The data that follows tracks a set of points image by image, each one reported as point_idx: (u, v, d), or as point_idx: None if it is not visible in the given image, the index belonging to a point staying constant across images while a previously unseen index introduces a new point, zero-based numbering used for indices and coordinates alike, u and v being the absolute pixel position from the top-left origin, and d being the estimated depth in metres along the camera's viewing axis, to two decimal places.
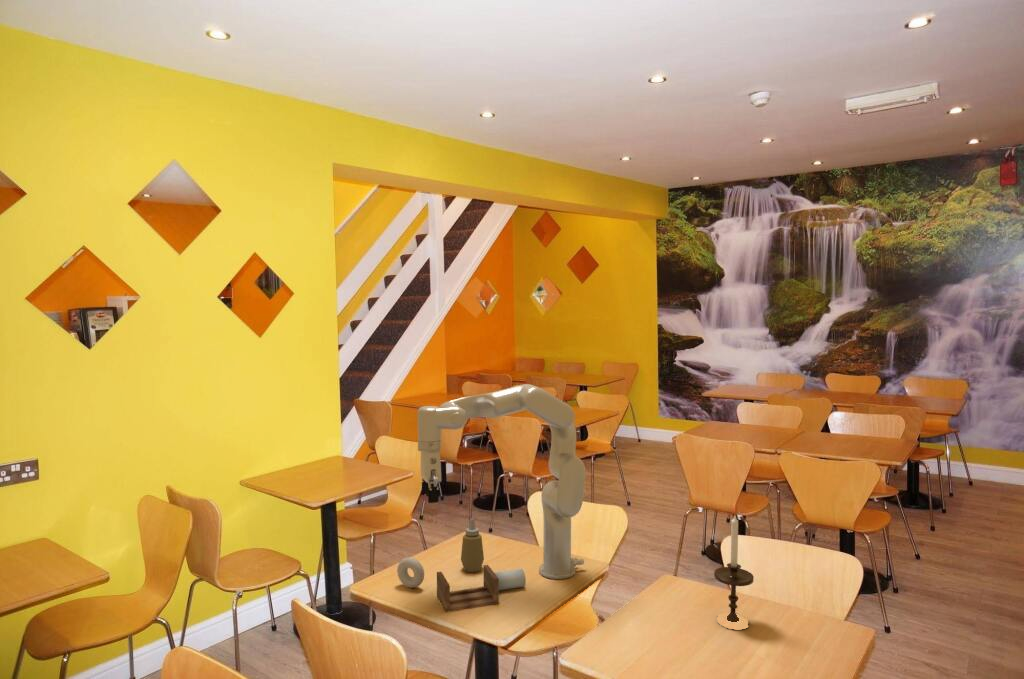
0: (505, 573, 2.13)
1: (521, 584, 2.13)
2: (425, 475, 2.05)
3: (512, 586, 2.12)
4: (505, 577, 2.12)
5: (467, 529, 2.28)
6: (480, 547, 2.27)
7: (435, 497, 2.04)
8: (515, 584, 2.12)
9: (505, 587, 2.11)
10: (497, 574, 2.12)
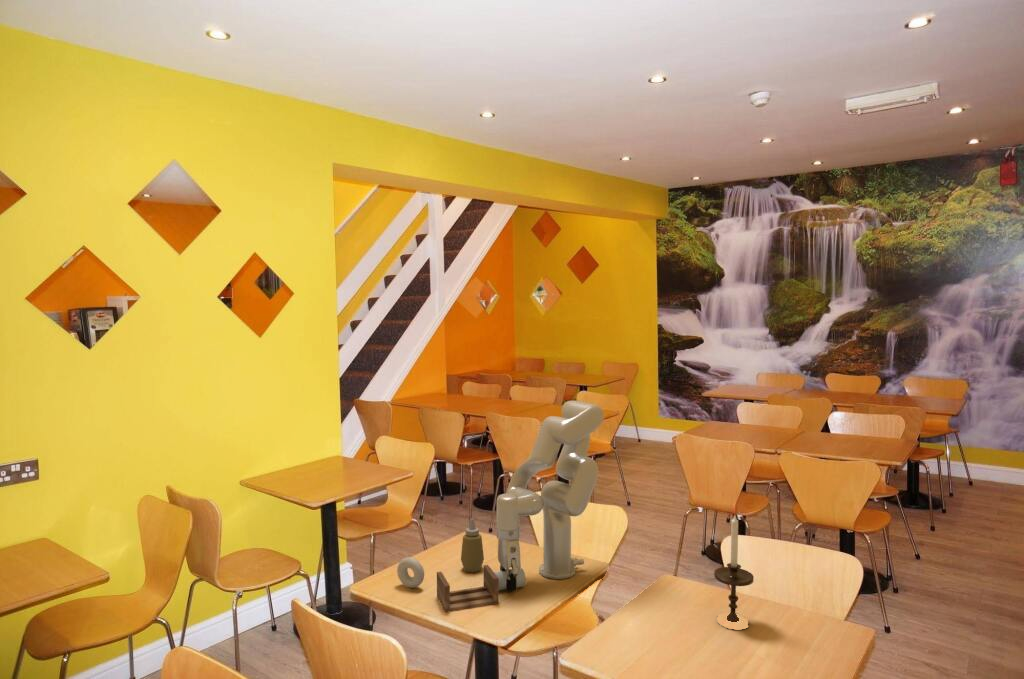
0: (505, 572, 2.13)
1: (522, 584, 2.13)
2: (505, 563, 2.10)
3: None
4: (505, 576, 2.12)
5: (467, 529, 2.28)
6: (480, 547, 2.27)
7: (513, 586, 2.11)
8: None
9: (505, 587, 2.11)
10: (497, 574, 2.12)
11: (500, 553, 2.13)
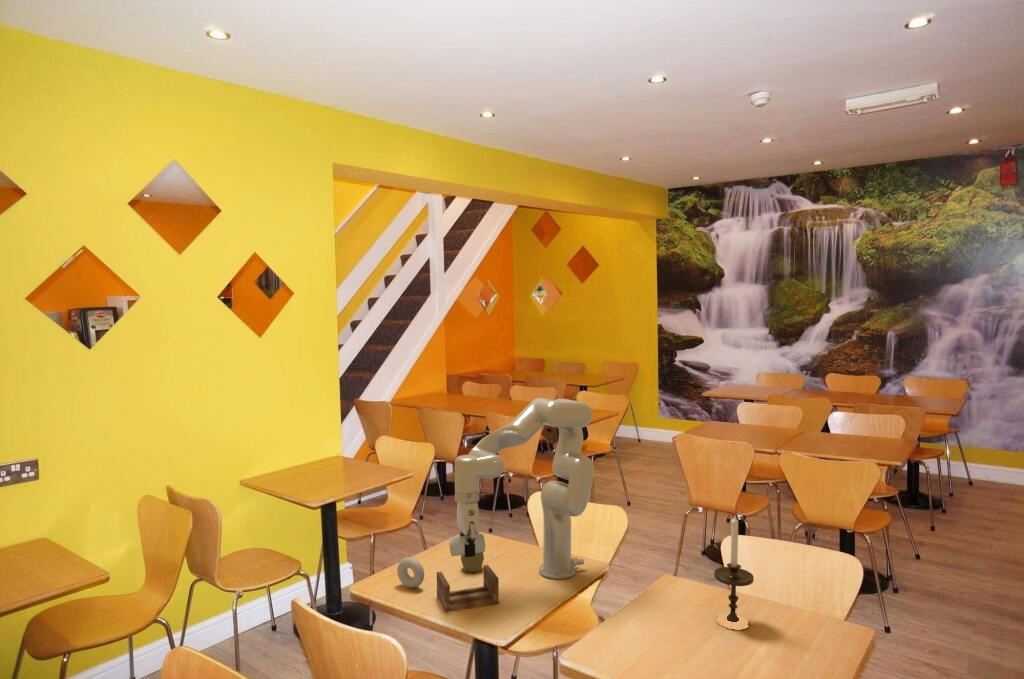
0: (464, 537, 2.03)
1: (481, 549, 2.03)
2: (463, 527, 2.00)
3: None
4: (463, 541, 2.02)
5: None
6: None
7: (472, 551, 2.01)
8: None
9: (463, 552, 2.02)
10: (455, 538, 2.02)
11: (459, 517, 2.04)
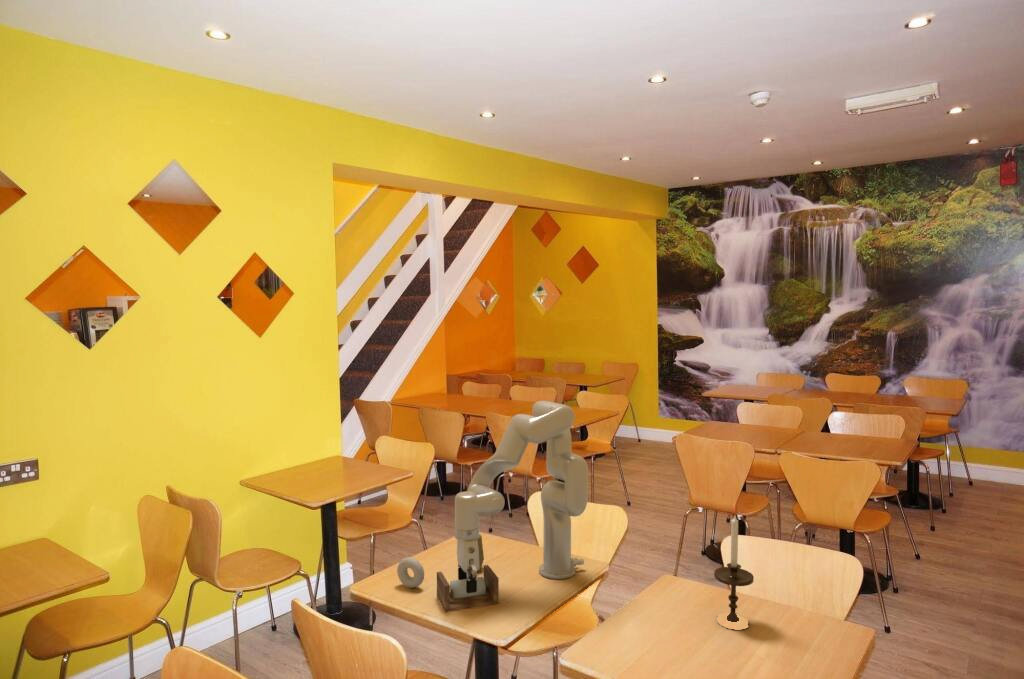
0: (464, 581, 2.04)
1: (481, 593, 2.04)
2: (463, 564, 2.01)
3: (471, 595, 2.03)
4: (463, 585, 2.03)
5: None
6: (480, 547, 2.27)
7: (473, 587, 2.00)
8: (474, 593, 2.03)
9: (464, 596, 2.03)
10: (456, 582, 2.03)
11: (459, 554, 2.04)
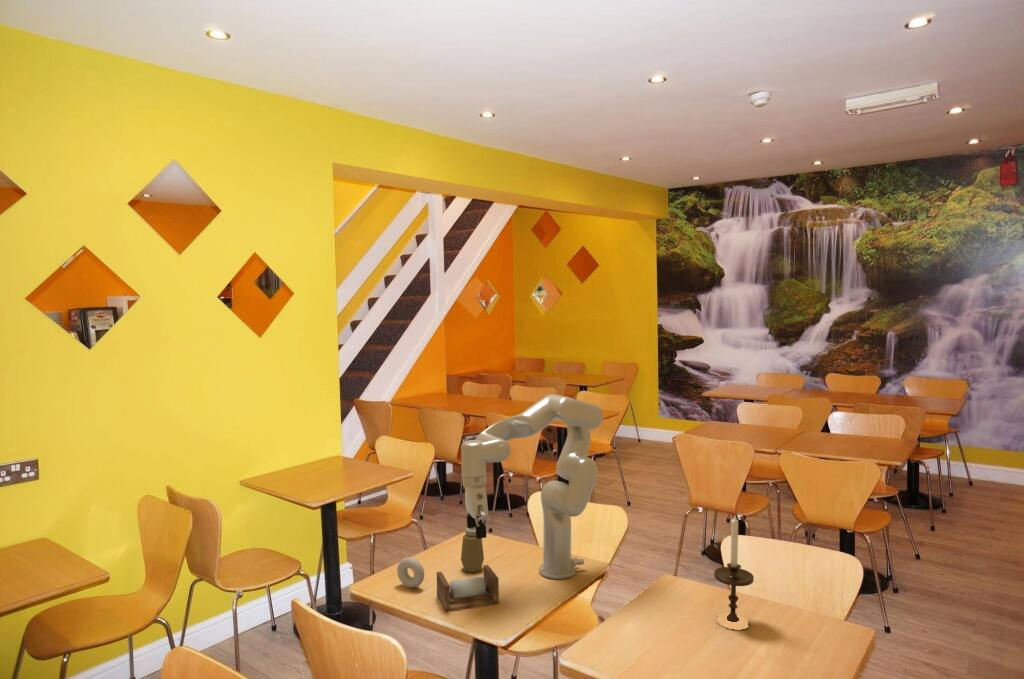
0: (464, 581, 2.04)
1: (481, 593, 2.04)
2: (472, 511, 2.03)
3: (471, 595, 2.03)
4: (463, 585, 2.03)
5: (467, 529, 2.28)
6: (480, 547, 2.27)
7: (483, 533, 2.02)
8: (474, 593, 2.04)
9: (464, 596, 2.03)
10: (455, 582, 2.03)
11: (467, 501, 2.07)
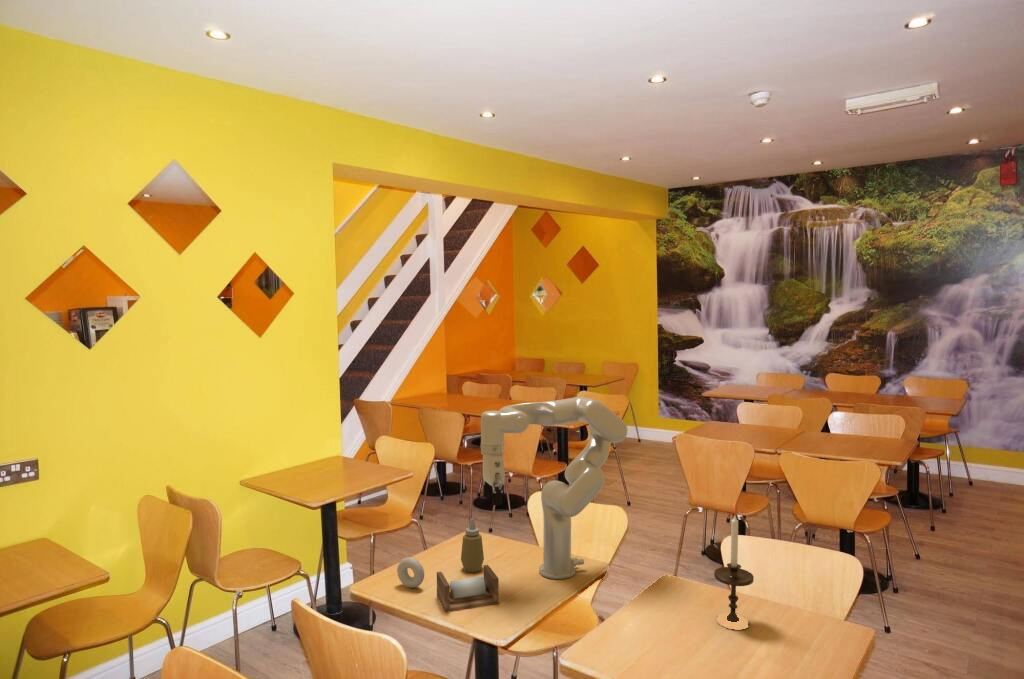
0: (464, 581, 2.04)
1: (481, 593, 2.04)
2: (489, 478, 2.11)
3: (471, 595, 2.03)
4: (463, 585, 2.03)
5: (467, 529, 2.28)
6: (480, 547, 2.27)
7: (499, 500, 2.10)
8: (474, 593, 2.04)
9: (464, 596, 2.03)
10: (456, 582, 2.03)
11: (484, 470, 2.14)
